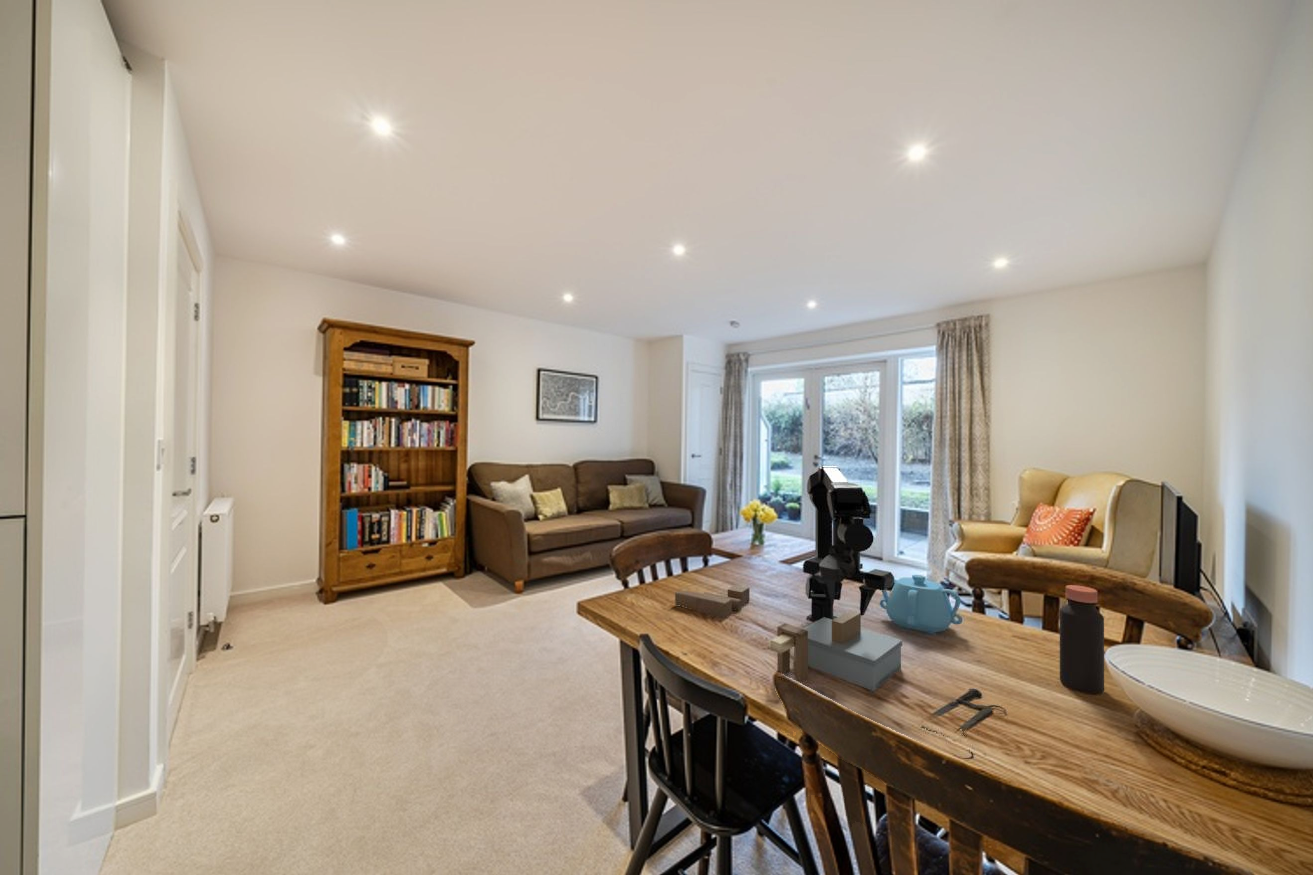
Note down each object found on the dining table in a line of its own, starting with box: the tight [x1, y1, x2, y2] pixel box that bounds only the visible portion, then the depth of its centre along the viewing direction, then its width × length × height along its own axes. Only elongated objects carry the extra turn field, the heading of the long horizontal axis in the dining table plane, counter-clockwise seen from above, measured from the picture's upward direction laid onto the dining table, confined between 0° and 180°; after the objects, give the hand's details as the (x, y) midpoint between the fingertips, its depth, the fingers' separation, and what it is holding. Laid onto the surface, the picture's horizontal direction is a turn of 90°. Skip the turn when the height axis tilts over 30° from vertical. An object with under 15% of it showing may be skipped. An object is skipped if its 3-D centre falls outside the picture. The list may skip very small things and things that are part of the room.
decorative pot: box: [879, 574, 963, 635], centre depth 129 cm, size 16×16×14 cm
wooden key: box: [770, 633, 795, 654], centre depth 102 cm, size 10×2×2 cm, turn 133°
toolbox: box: [776, 623, 902, 692], centre depth 105 cm, size 21×18×10 cm
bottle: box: [1059, 584, 1105, 695], centre depth 97 cm, size 7×7×20 cm
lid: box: [801, 610, 903, 667], centre depth 107 cm, size 14×18×7 cm
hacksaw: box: [917, 688, 1007, 760], centre depth 85 cm, size 24×10×2 cm, turn 122°
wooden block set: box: [674, 585, 751, 619], centre depth 146 cm, size 17×6×18 cm
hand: (846, 610), depth 107 cm, fingers open, 7 cm apart
